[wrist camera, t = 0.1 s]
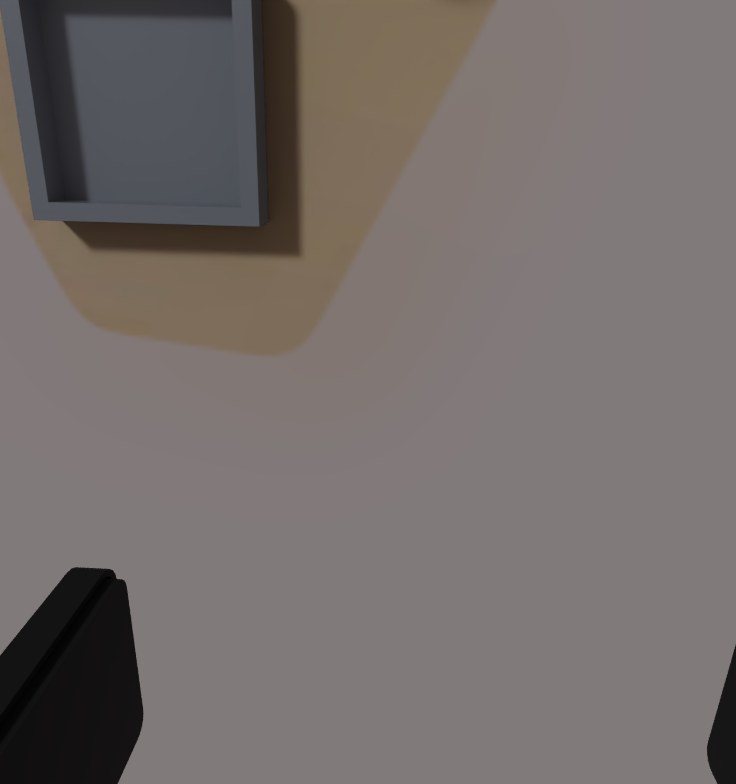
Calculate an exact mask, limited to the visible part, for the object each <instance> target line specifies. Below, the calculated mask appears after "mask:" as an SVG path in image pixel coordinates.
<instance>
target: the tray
mask: <svg viewBox="0 0 736 784" xmlns="http://www.w3.org/2000/svg"><path fill="white" fill-rule="evenodd" d="M0 8H1V14H2V21H3V27H4V33H5V40H6V46H7V52H8V59H9V65H10V71H11V78H12V84H13V91H14V97H15V103H16V110H17V116H18V122H19V129H20V135H21V141H22V148H23V154H24V160H25V167H26V173H27V180H28V186H29V192H30V199H31V205H32V211H33V218H34V220H52V221H86V222H120V223H154V224H188V225H222V226H256V227H260V226H262V225H264V224H266V223H268V192H267V160H266V127H265V95H264V63H263V30H262V0H0Z"/></svg>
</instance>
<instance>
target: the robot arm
mask: <svg viewBox="0 0 736 784" xmlns="http://www.w3.org/2000/svg"><path fill="white" fill-rule="evenodd" d="M142 722H143V705H142V698H141V690H140V682H139V675H138V667H137V660H136V652H135V645H134V638H133V630H132V622H131V615H130V607H129V600H128V593H127V586H126V583H125V581H124V580H122V579H121V580H120V579H116V575H115V573H114V571H113V570H111V569H99V568H98V569H97V568H78V567H75V568H72V569H71V570H70V571H68V572H67V574H66V575H65V576H64V577H63V578H62V580H61V581H60V582H59V583H58V585H57V586H56V587H55V588H54V590H53V591H52V592H51V593H50V595H49V596H48V597H47V598H46V600H45V601H44V602H43V603H42V605H41V606H40V607H39V608H38V610H37V611H36V612H35V613H34V615H33V616H32V617H31V618H30V619H29V621H28V622H27V623H26V624H25V626H24V627H23V628H22V629H21V630H20V632H19V633H18V634H17V635H16V637H15V638H14V639H13V641H12V642H11V643H10V644H9V645H8V647H7V648H6V649H5V650H4V652H3V653H2V654H1V655H0V784H118V782H119V779H120V777H121V775H122V773H123V770H124V768H125V766H126V764H127V762H128V760H129V757H130V755H131V753H132V751H133V748H134V746H135V744H136V742H137V740H138V737H139V735H140V731H141V727H142ZM707 755H708V762H709V766H710V769H711V771H712V773H713V775H714V778H715V779H716V781H717V784H736V646H735V649H734V653H733V656H732V660H731V664H730V667H729V670H728V674H727V678H726V681H725V684H724V688H723V691H722V695H721V699H720V702H719V705H718V709H717V713H716V716H715V720H714V723H713V726H712V730H711V733H710V737H709V741H708V745H707Z"/></svg>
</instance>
